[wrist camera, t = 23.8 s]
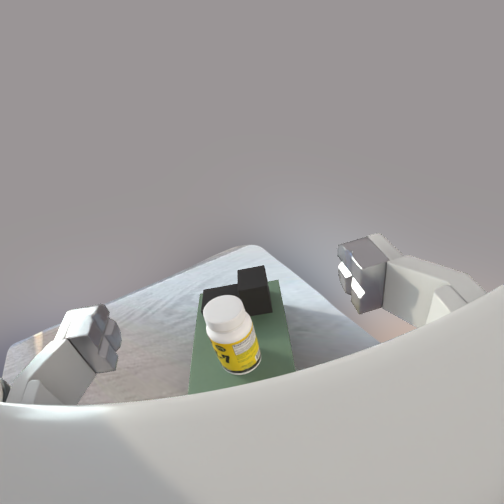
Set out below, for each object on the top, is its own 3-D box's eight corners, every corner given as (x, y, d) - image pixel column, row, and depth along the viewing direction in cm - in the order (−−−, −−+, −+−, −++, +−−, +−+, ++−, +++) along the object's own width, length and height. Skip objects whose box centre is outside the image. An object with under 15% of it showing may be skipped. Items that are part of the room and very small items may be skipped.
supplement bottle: (214, 358, 33) (190, 307, 29) (246, 337, 35) (230, 285, 30) (235, 383, 29) (213, 334, 25) (270, 360, 31) (256, 307, 27)
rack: (202, 415, 31) (187, 396, 29) (209, 316, 47) (199, 293, 44) (300, 403, 31) (297, 382, 28) (282, 304, 46) (278, 279, 43)
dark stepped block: (206, 323, 38) (195, 298, 36) (208, 302, 42) (198, 277, 40) (272, 312, 38) (267, 285, 35) (269, 291, 41) (264, 265, 39)
